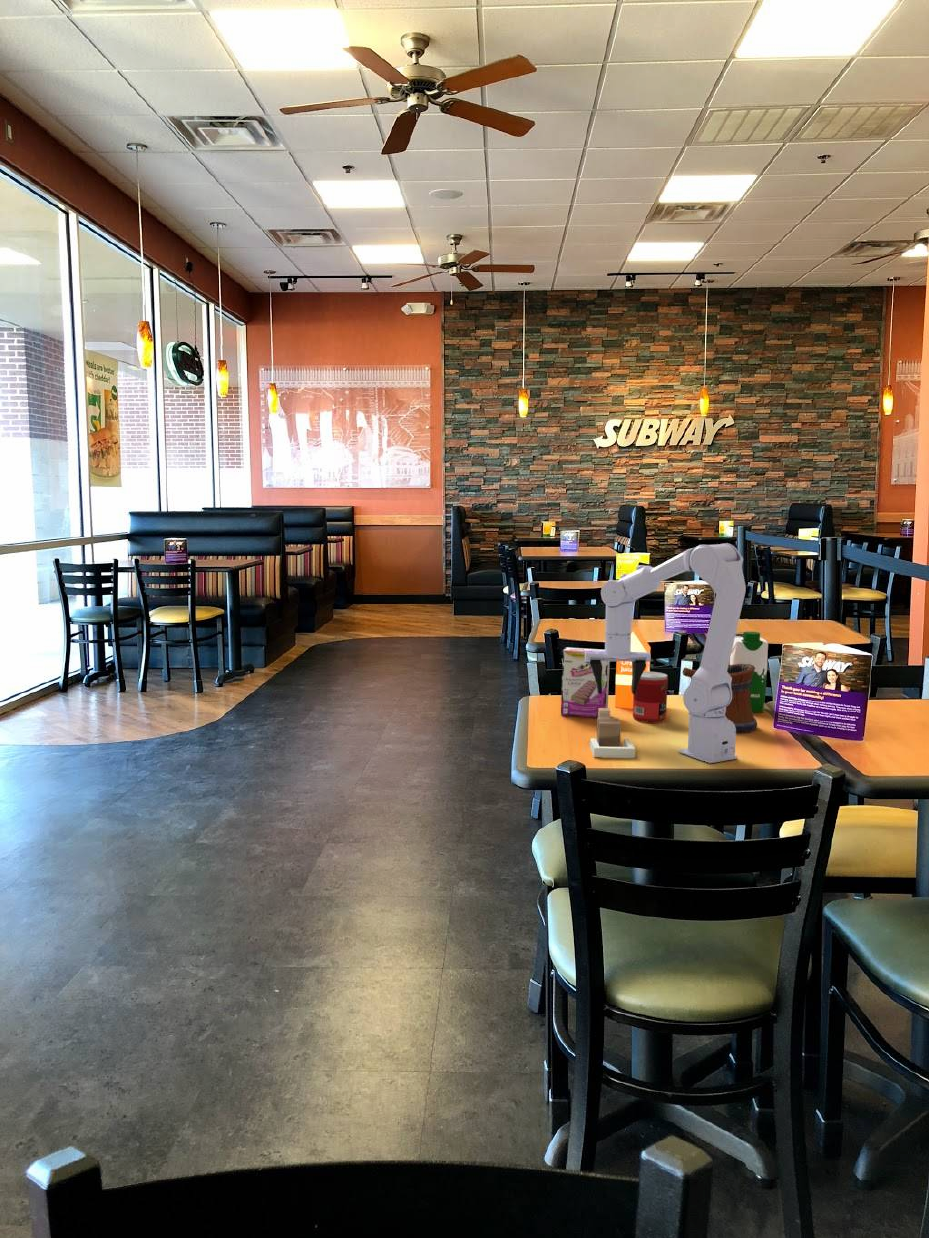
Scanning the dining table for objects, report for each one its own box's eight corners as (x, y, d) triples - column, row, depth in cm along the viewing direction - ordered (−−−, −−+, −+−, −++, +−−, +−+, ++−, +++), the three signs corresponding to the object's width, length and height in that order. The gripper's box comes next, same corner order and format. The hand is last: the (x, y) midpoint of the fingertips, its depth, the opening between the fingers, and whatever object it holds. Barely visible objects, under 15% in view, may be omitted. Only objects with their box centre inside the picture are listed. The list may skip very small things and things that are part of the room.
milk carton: (731, 712, 233) (735, 633, 230) (725, 704, 242) (729, 628, 239) (767, 713, 232) (771, 634, 229) (760, 705, 241) (764, 629, 238)
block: (619, 748, 199) (620, 721, 198) (598, 748, 199) (599, 720, 198) (612, 734, 211) (613, 708, 210) (592, 733, 211) (593, 707, 210)
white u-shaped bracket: (634, 758, 192) (635, 748, 192) (594, 757, 192) (594, 748, 192) (629, 748, 200) (629, 738, 199) (589, 747, 200) (590, 738, 200)
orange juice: (614, 707, 238) (617, 629, 235) (619, 700, 246) (621, 625, 243) (645, 709, 235) (648, 631, 233) (649, 702, 244) (651, 626, 241)
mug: (689, 734, 211) (692, 669, 209) (672, 722, 223) (675, 660, 220) (765, 733, 213) (769, 669, 211) (745, 721, 224) (748, 659, 222)
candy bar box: (560, 716, 228) (561, 650, 225) (563, 711, 232) (564, 646, 230) (606, 719, 225) (608, 652, 223) (608, 714, 230) (610, 649, 227)
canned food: (666, 723, 221) (667, 678, 220) (632, 721, 223) (633, 676, 221) (665, 716, 229) (667, 672, 227) (632, 714, 230) (634, 670, 229)
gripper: (647, 631, 212) (645, 689, 214) (583, 630, 212) (582, 689, 214) (653, 635, 205) (651, 696, 207) (587, 635, 205) (586, 695, 207)
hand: (616, 693), depth 210 cm, fingers open, 7 cm apart
